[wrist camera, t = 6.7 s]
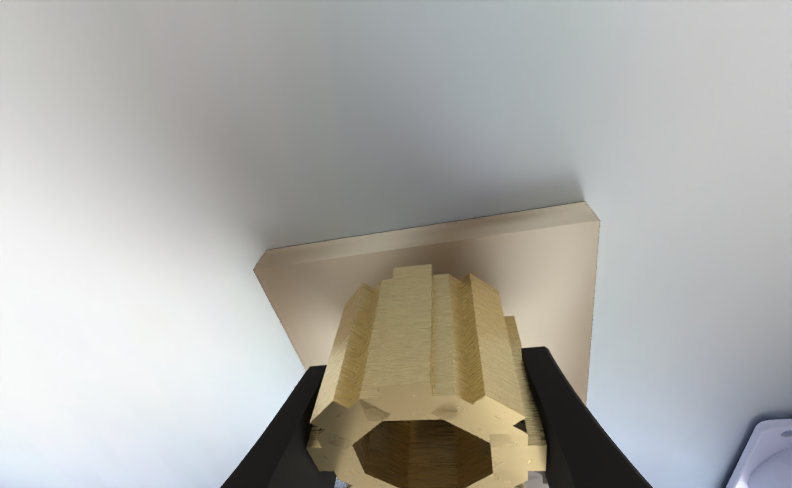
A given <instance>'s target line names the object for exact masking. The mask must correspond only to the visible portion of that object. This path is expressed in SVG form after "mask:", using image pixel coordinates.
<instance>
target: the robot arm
mask: <svg viewBox="0 0 792 488" xmlns="http://www.w3.org/2000/svg"><path fill="white" fill-rule="evenodd" d="M521 354H522V360H523V364H524V368H525V372H526V376H527V380H528V384H529V387H530V391H531V393H532V396H533V399H534V402H535V404H536V407H537V410H538V413H539V416H540V420H541V424H542V428H543V431H544V435H545V439H546V443H547V454H546V471H544V473H545V476H546V479H547V482H548V486H549V488H653V487H652V486H651V485H650V484H649V483H648V482H647V481H646V480H645V478H644V477H643V476H642V475H641V474H640V473H639V472H638V470H637V469H636V468H635V467H634V466H633V465H632V463H631V462H630V461H629V460H628V459H627V458H626V456H625V455H624V454H623V453H622V452H621V450H620V449H619V448H618V447H617V446H616V444H615V443H614V442H613V441H612V440H611V438H610V437H609V436H608V434H607V433H606V432H605V431H604V429H603V428H602V427H601V426H600V424H599V423H598V422H597V420H596V419H595V418H594V416H593V415H592V414H591V412H590V411H589V410H588V408H587V407H586V406H585V404H584V403H583V402H582V400H581V399H580V398H579V396H578V395H577V393H576V392H575V391H574V389H573V388H572V386H571V385H570V383H569V382H568V380H567V379H566V377H565V376H564V374H563V373H562V371H561V369H560V368H559V366H558V365H557V363H556V361H555V360H554V358H553V356H552V354H551V352H550V351H549V349H548V348H546V347H545V346H540V347H529V348H521ZM326 367H327V365H319V366H310V367H309V368H308V370H307V371H306V372H305V374H304V375H303V377H302V378H301V380H300V381H299V383H298V384H297V385H296V387H295V388H294V390H293V391H292V393H291V394H290V396H289V397H288V399H287V400H286V402H285V403H284V404H283V406H282V407H281V409H280V410H279V412H278V413H277V414H276V416H275V417H274V419H273V420H272V421H271V423H270V424H269V426H268V427H267V428H266V430H265V431H264V433H263V434H262V435H261V437H260V438H259V439H258V441H257V442H256V443H255V445H254V446H253V447H252V449H251V450H250V451H249V452H248V454H247V455H246V456H245V458H244V459H243V460H242V461H241V463H240V464H239V465H238V467H237V468H236V469H235V470H234V472H233V473H232V474H231V475H230V477H229V478H228V479H227V480H226V481H225V483H224V484H223V485H222V486H221V487H220V488H334V485H335V481H336V474H335V472H334V471H319V470H318V468H317V466H316V465H315V463H314V461H313V459H312V458H311V456H310V454H309V452H308V451H307V449H306V447H307V443H308V440H309V437H310V433H311V430H312V426H313V424H311V423H310V420H311V417H312V413H313V410H314V407H315V403H316V400H317V397H318V393H319V390H320V387H321V383H322V380H323V377H324V373H325V370H326ZM726 488H792V419H774V420H765V421H762V422H760V423H758V424H757V425H756V427H755V429H754V431H753V433H752V435H751V437H750V439H749V441H748V443H747V445H746V447H745V449H744V451H743V453H742V455H741V458H740V460H739V462H738V464H737V466H736V468H735V470H734V472H733V474H732V476H731V478H730V480H729V482H728V484H727V486H726Z"/></svg>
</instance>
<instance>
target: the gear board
mask: <svg viewBox="0 0 792 488" xmlns="http://www.w3.org/2000/svg"><path fill="white" fill-rule="evenodd" d="M599 228H600V219H599V218H598V217H597V216H596V214H595V213H594V212H593V211H592V209H591V208H590V207H589V205H588V204H587V203H586V202H579V203H572V204H566V205H559V206H553V207H546V208H539V209H533V210H526V211H520V212H513V213H507V214H500V215H494V216H487V217H480V218H474V219H467V220H461V221H454V222H448V223H441V224H435V225H428V226H421V227H415V228H408V229H402V230H395V231H389V232H382V233H376V234H369V235H362V236H356V237H349V238H343V239H336V240H330V241H323V242H317V243H310V244H303V245H297V246H290V247H284V248H277V249H271V250H266V251H265V253H264V254H263V256H262V257H261V259H260V260H259V262H258V263H257V264H256V266H255V267H254V269H253V271H254V273H255V275H256V276H257V278H258V280H259V282H260V284H261V286H262V288H263V290H264V292H265V294H266V295H267V297H268V299H269V301H270V303H271V305H272V307H273V309H274V311H275V313H276V314H277V316H278V318H279V320H280V322H281V324H282V326H283V328H284V330H285V332H286V333H287V335H288V337H289V339H290V341H291V343H292V345H293V347H294V349H295V351H296V352H297V354H298V356H299V358H300V360H301V362H302V364H303V366H304V368H305V370H306V371H307V370H308V368H309V367H310V366H319V365H327V363H328V360H329V357H330V353H331V350H332V347H333V343H334V340H335V337H336V333H337V330H338V327H339V323H340V320H341V317H342V313H343V310H344V307H345V304H346V302H347V301H348V300H349V299H350V298H351V297H352V295H353V294H354V293H355V292H356V291H357V289H358V288H359V287H360V286H361V285H362V283H365V284H367V285H368V286H370V287H372V288H374V289H375V288H376V286H377V285H378V284H379V283H380V282H381V281H382V280H387V279H393V272H394V268H398V267H408V266H418V265H428V264H432V269H433V275H440V274H450V275H452V276H453V277H455V278H456V279H458V280H460V281H461V280H462V279H463V278H464V277H465V276H467V275H468V274H469V273H471V274H473V275H474V276H476V277H477V278H479V279H480V280H482V281H483V282H485V283H487V284H488V285H490V286H491V287H493V288H494V289H496V290H498V292H499V296H500V301H501V305H502V310H503V314H504V316H514V317H515V321H516V325H517V329H518V333H519V337H520V341H521V345H522V348H529V347H540V346H545V347H546V348H548V349H549V351H550V352H551V354H552V356H553V358H554V360H555V361H556V363H557V365H558V366H559V368H560V369H561V371H562V373H563V374H564V376H565V377H566V379H567V380H568V382H569V383H570V385H571V386H572V388H573V389H574V391H575V392H576V393H577V395H578V396H579V398H580V399H581V400H582V402H583V403H584V404H585V406H586V400H587V386H588V373H589V360H590V347H591V334H592V320H593V307H594V294H595V281H596V268H597V254H598V241H599ZM525 488H549V486H548V482H547V479H546V476H545V473H544V471H528V481H525Z"/></svg>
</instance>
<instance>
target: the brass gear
mask: <svg viewBox="0 0 792 488" xmlns="http://www.w3.org/2000/svg"><path fill="white" fill-rule="evenodd" d="M521 348H522V345H521V341H520V337H519V333H518V329H517V325H516V321H515V317H514V316H504V314H503V310H502V305H501V301H500V296H499V292H498V290H496V289H494V288H493V287H491V286H490V285H488V284H487V283H485V282H483V281H482V280H480V279H479V278H477V277H476V276H474V275H473V274H471V273H469V274H468V275H467V276H465V277H464V278H463V279H462V280H461V281H460V280H458V279H456V278H455V277H453V276H452V275H450V274H440V275H433V269H432V264H428V265H418V266H408V267H398V268H394V272H393V279H387V280H382V281H381V282H380V283H379V284H378V285H377V286H376V288H375V289H374V288H372V287H370V286H368V285H367V284H365V283H362V285H361V286H360V287H359V288H358V289H357V291H356V292H355V293H354V294H353V295H352V297H351V298H350V299H349V300H348V301H347V302H346V304H345V307H344V310H343V313H342V317H341V320H340V323H339V327H338V330H337V333H336V337H335V340H334V343H333V347H332V350H331V353H330V357H329V360H328V363H327V367H326V370H325V373H324V377H323V380H322V383H321V387H320V390H319V393H318V397H317V400H316V403H315V407H314V410H313V413H312V417H311V420H310V423H311V424H313V426H312V430H311V433H310V437H309V440H308V443H307V447H306V449H307V451H308V452H309V454H310V456H311V458H312V459H313V461H314V463H315V465H316V466H317V468H318V470H319V471H334V472H335V474H336V476H337V478H338V480H340V481H343V482H345V483H347V485H346V488H525V481H528V471H546V454H547V443H546V439H545V435H544V431H543V428H542V424H541V420H540V416H539V413H538V410H537V407H536V404H535V402H534V399H533V396H532V393H531V391H530V387H529V384H528V380H527V376H526V372H525V368H524V364H523V360H522V354H521Z"/></svg>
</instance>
